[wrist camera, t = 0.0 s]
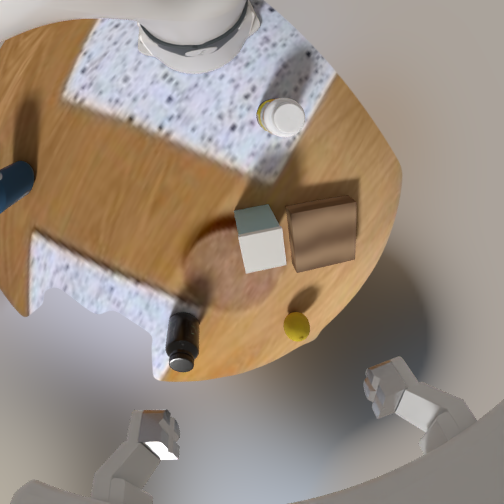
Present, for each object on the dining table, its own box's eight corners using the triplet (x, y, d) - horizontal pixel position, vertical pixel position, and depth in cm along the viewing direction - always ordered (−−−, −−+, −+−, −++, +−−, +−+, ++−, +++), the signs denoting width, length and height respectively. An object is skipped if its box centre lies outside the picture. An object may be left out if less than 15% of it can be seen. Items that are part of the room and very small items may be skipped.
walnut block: (285, 205, 48) (291, 213, 45) (346, 194, 48) (356, 201, 45) (291, 261, 54) (296, 272, 51) (346, 249, 54) (355, 259, 51)
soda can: (19, 152, 34) (-20, 170, 24) (41, 170, 37) (3, 192, 27) (9, 182, 36) (-27, 205, 26) (30, 199, 39) (-4, 226, 29)
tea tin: (233, 210, 47) (238, 237, 38) (268, 203, 47) (282, 228, 38) (239, 241, 50) (246, 273, 41) (273, 234, 50) (286, 264, 42)
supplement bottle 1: (173, 334, 60) (170, 376, 50) (165, 313, 56) (159, 356, 46) (202, 331, 60) (202, 373, 50) (195, 309, 57) (194, 353, 46)
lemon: (296, 300, 59) (306, 326, 52) (308, 313, 62) (318, 338, 55) (275, 314, 60) (283, 340, 53) (288, 326, 63) (296, 351, 56)
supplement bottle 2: (296, 109, 39) (318, 111, 30) (279, 137, 41) (298, 147, 33) (265, 92, 37) (280, 89, 29) (249, 122, 39) (259, 126, 31)
